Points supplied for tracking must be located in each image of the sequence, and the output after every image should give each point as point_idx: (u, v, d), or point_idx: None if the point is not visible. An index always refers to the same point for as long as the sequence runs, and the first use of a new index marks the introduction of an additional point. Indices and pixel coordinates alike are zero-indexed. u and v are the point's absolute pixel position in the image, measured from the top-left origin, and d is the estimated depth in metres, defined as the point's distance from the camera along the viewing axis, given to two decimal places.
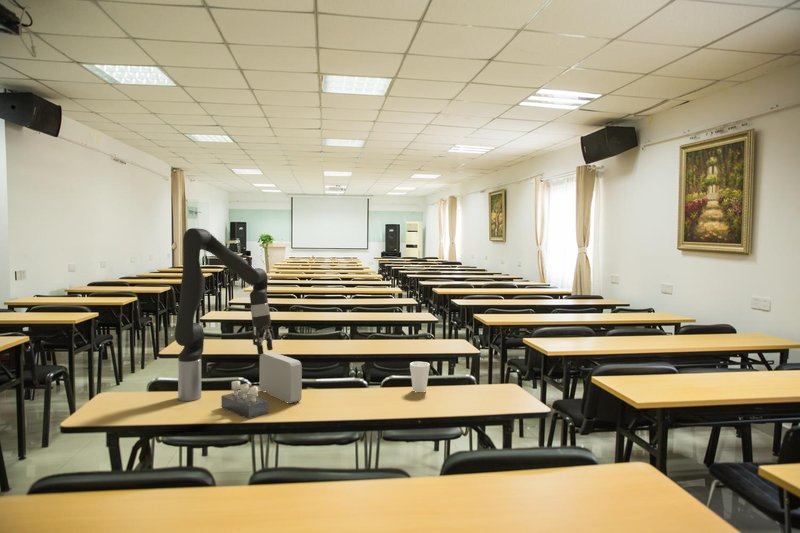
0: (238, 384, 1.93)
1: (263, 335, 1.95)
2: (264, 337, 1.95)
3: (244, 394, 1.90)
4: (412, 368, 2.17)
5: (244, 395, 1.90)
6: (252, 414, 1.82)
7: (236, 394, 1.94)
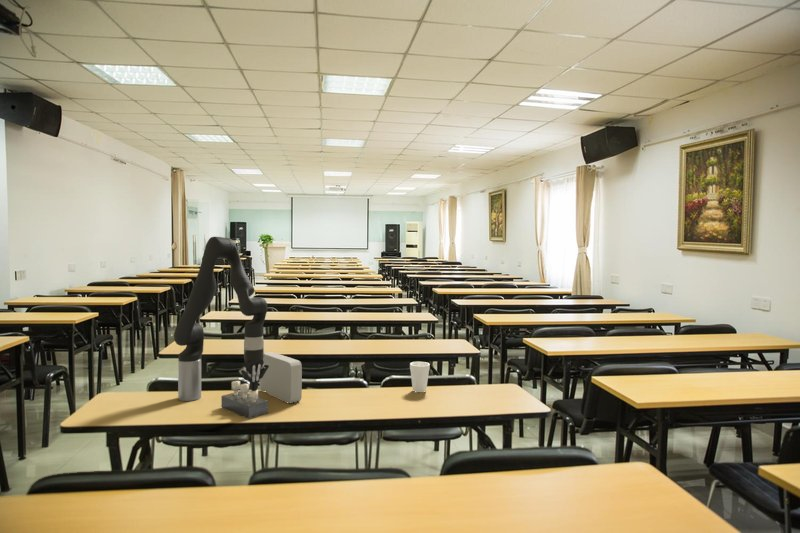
0: (238, 384, 1.93)
1: (252, 372, 1.84)
2: (254, 372, 1.84)
3: (244, 394, 1.90)
4: (412, 368, 2.17)
5: (244, 395, 1.90)
6: (252, 414, 1.82)
7: (236, 394, 1.94)
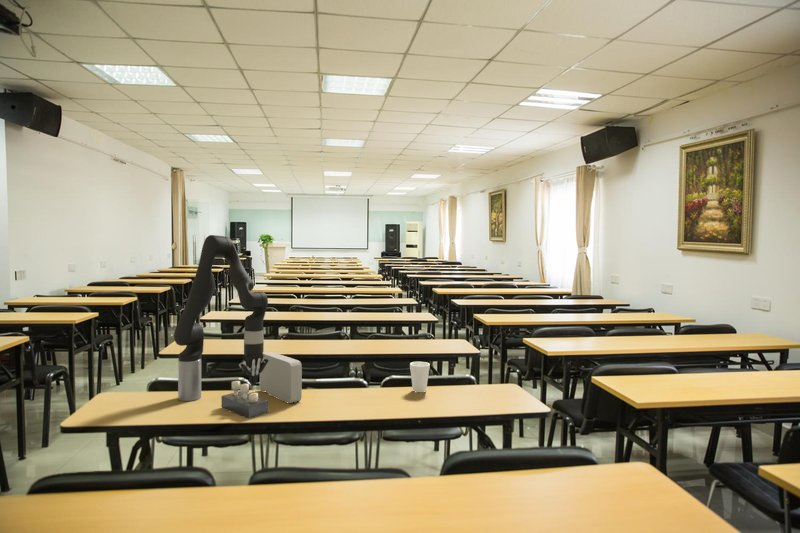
0: (238, 384, 1.93)
1: (252, 366, 1.83)
2: (254, 366, 1.84)
3: (244, 394, 1.90)
4: (412, 368, 2.17)
5: (244, 395, 1.90)
6: (252, 414, 1.82)
7: (236, 394, 1.94)
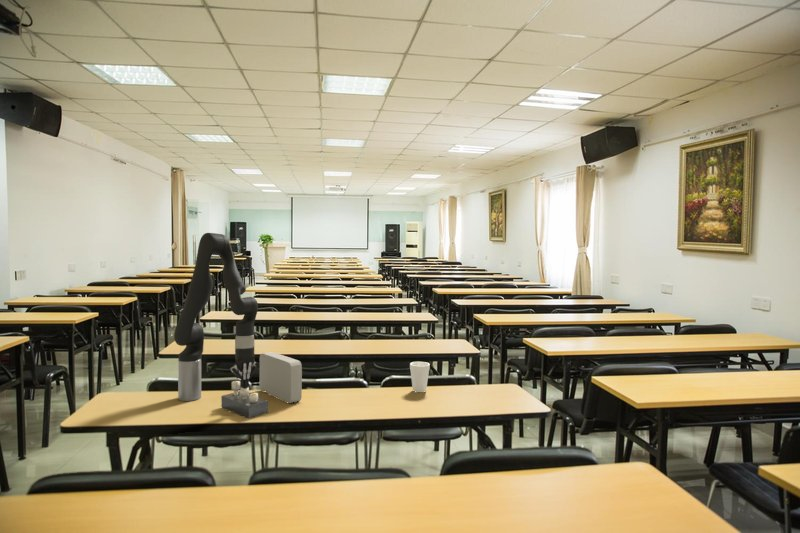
0: (238, 384, 1.93)
1: (243, 370, 1.88)
2: (245, 370, 1.88)
3: (244, 397, 1.90)
4: (412, 368, 2.17)
5: (244, 398, 1.90)
6: (252, 414, 1.82)
7: (236, 394, 1.94)
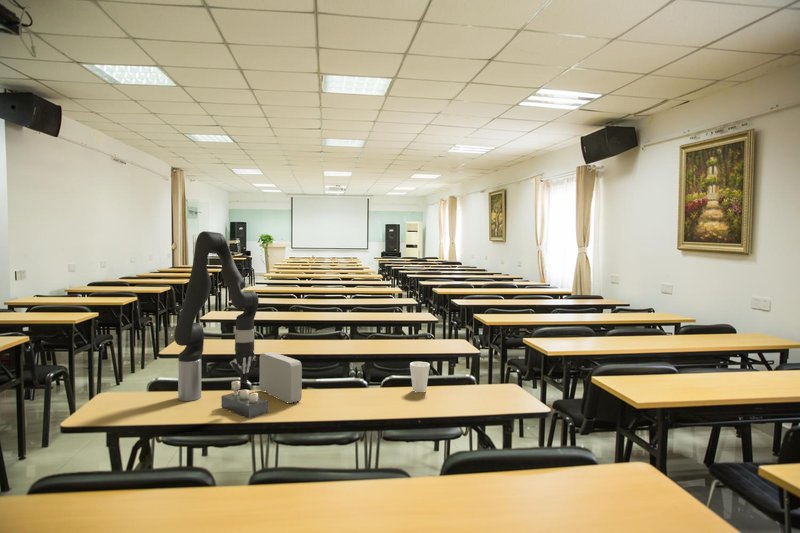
0: (238, 384, 1.93)
1: (242, 364, 1.88)
2: (245, 364, 1.88)
3: None
4: (412, 368, 2.17)
5: None
6: (252, 414, 1.82)
7: (236, 394, 1.94)
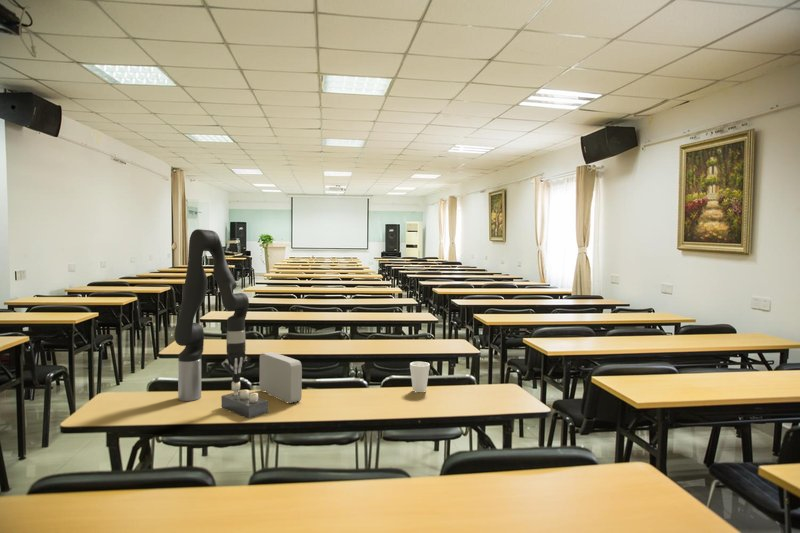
0: (238, 384, 1.93)
1: (234, 364, 1.92)
2: (237, 365, 1.93)
3: None
4: (412, 368, 2.17)
5: None
6: (252, 414, 1.82)
7: (236, 394, 1.94)
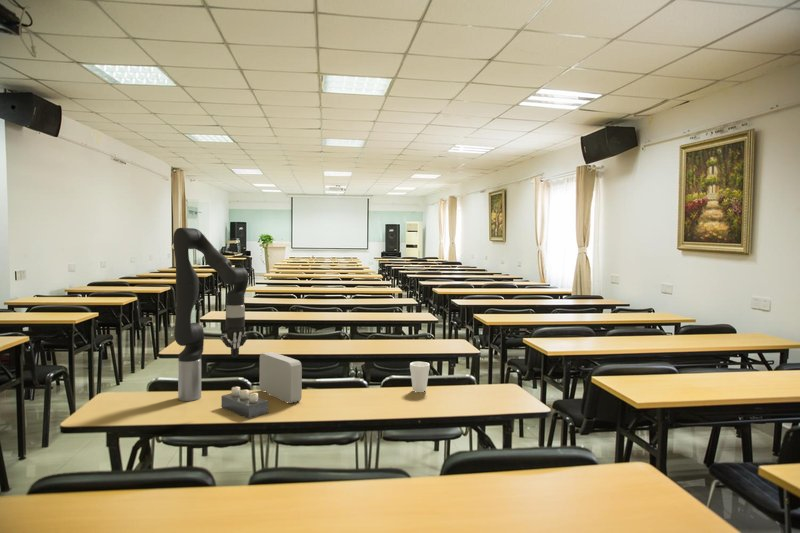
0: (238, 390, 1.94)
1: (233, 339, 1.91)
2: (235, 339, 1.92)
3: None
4: (412, 368, 2.17)
5: None
6: (252, 414, 1.82)
7: None
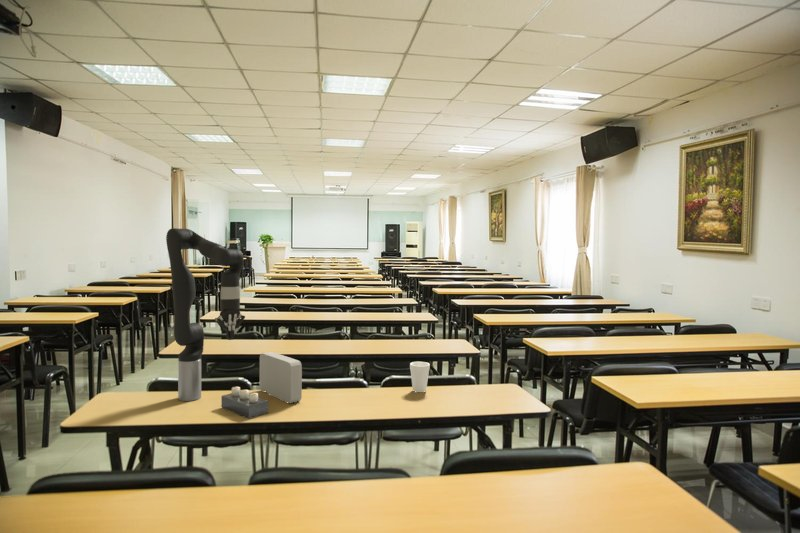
0: (238, 390, 1.94)
1: (228, 321, 1.89)
2: (231, 321, 1.89)
3: None
4: (412, 368, 2.17)
5: None
6: (252, 414, 1.82)
7: None
